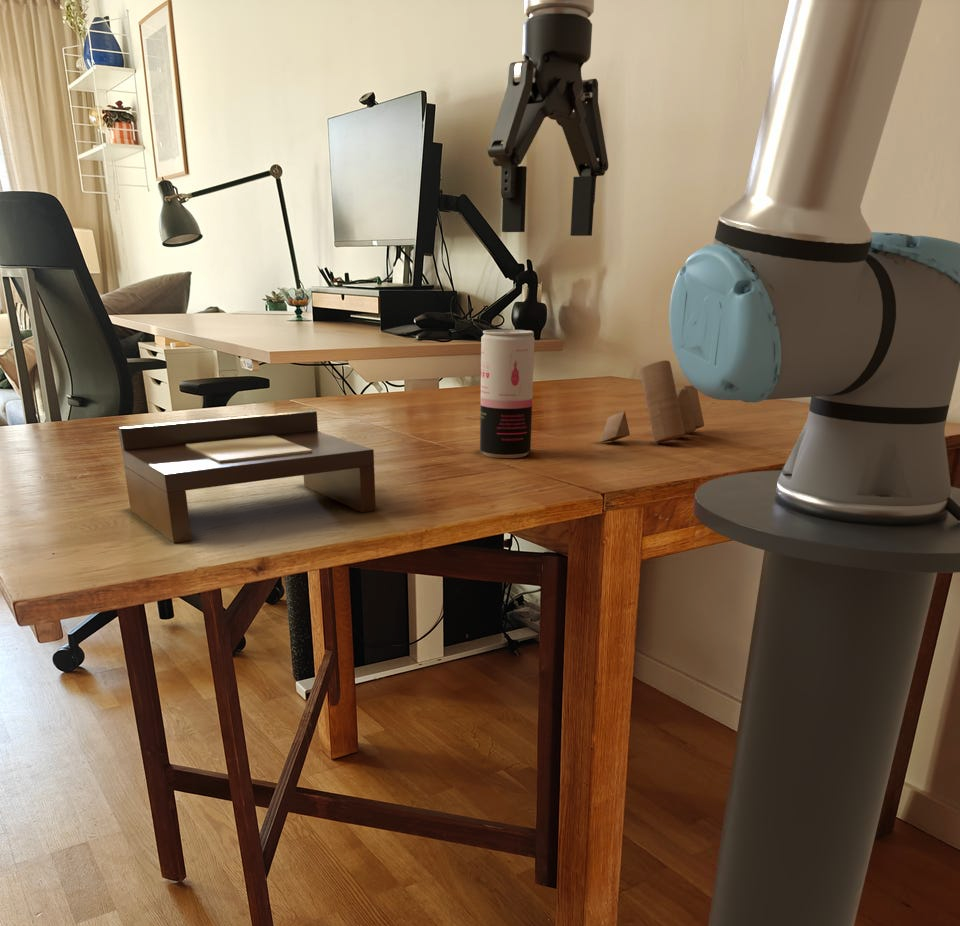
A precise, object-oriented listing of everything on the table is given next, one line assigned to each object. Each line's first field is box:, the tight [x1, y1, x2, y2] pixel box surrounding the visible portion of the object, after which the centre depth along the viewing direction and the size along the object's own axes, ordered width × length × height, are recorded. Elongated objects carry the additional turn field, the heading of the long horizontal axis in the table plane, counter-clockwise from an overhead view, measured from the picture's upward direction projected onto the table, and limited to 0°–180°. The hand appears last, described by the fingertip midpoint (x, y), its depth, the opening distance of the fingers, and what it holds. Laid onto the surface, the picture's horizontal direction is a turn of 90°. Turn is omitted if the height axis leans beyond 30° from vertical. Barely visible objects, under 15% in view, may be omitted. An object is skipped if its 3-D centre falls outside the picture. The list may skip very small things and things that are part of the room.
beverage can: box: [479, 329, 535, 459], centre depth 109 cm, size 7×7×15 cm
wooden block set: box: [599, 360, 705, 444], centre depth 121 cm, size 18×9×10 cm, turn 131°
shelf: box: [117, 409, 377, 544], centre depth 83 cm, size 13×20×8 cm, turn 126°
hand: (548, 234), depth 102 cm, fingers open, 13 cm apart
